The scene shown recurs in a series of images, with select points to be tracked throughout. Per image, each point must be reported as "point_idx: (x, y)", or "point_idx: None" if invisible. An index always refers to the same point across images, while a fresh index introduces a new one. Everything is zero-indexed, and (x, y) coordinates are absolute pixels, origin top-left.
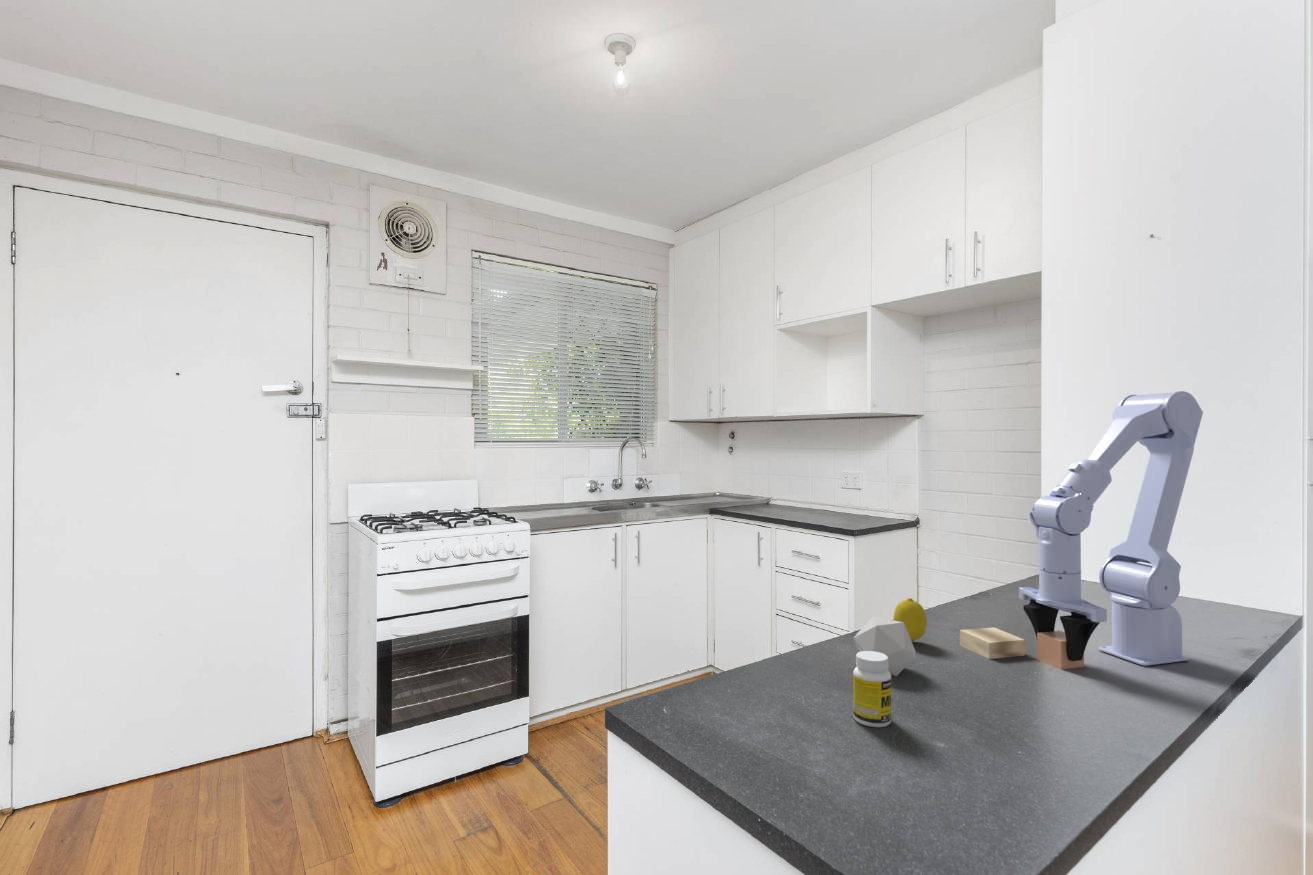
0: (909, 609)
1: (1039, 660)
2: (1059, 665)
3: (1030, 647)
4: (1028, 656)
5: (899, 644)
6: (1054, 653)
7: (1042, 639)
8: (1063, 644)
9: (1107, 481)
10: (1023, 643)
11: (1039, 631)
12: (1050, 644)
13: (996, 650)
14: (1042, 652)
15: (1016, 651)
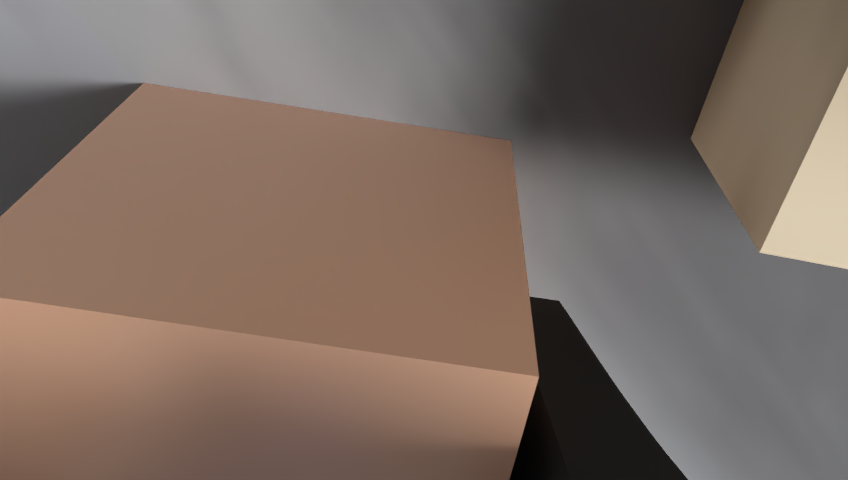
0: None
1: (478, 136)
2: (153, 101)
3: (798, 423)
4: (641, 144)
5: None
6: (191, 175)
7: (409, 298)
8: None
9: None
10: (751, 196)
11: (558, 465)
12: (233, 248)
13: None
14: (423, 182)
15: (766, 21)
